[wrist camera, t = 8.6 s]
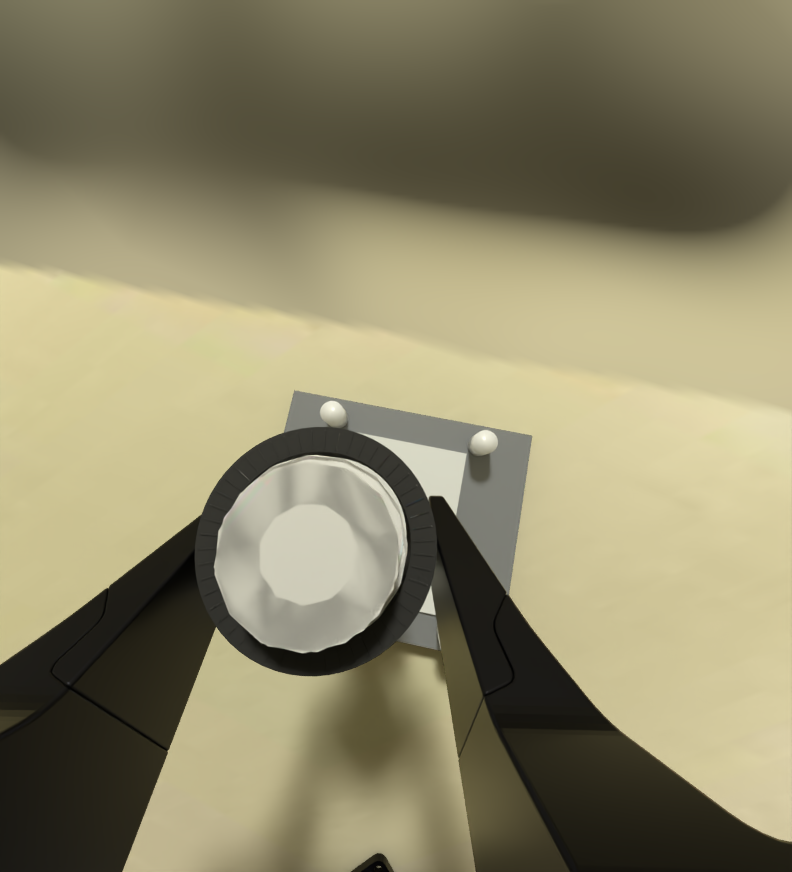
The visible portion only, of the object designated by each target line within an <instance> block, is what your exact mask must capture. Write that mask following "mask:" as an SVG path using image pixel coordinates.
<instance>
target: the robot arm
mask: <svg viewBox="0 0 792 872" xmlns="http://www.w3.org/2000/svg"><path fill="white" fill-rule="evenodd" d="M428 501H429V503H430V506H431V510H432V513H433V517H434V521H435V526H436V535H437V557H436V566H435V571H434V576H433V580H432V583H431V589H432V595H433V601H434V608H435V614H436V620H437V627H438V633H439V639H440V646H441V652H442V658H443V665H444V671H445V677H446V684H447V690H448V697H449V703H450V709H451V716H452V722H453V728H454V735H455V741H456V747H457V754H458V758H459V767H460V773H461V780H462V786H463V792H464V799H465V805H466V811H467V818H468V824H469V830H470V837H471V843H472V849H473V856H474V862H475V868H476V872H792V842H789V841H784V840H779V839H776V838H774V837H771V836H769V835H766V834H764V833H762V832H760V831H758V830H756V829H755V828H753V827H751V826H749V825H747V824H745V823H744V822H742V821H741V820H740V819H738V818H737V817H735V816H734V815H732V814H731V813H729V812H728V811H726V810H725V809H724V808H722V807H721V806H720V805H718V804H717V803H716V802H714V801H713V800H712V799H710V798H709V797H708V796H706V795H705V794H704V793H702V792H701V791H700V790H698V789H697V788H696V787H694V786H693V785H692V784H690V783H689V782H688V781H686V780H685V779H684V778H682V777H681V776H680V775H678V774H677V773H676V772H674V771H673V770H672V769H670V768H669V767H668V766H666V765H665V764H664V763H662V762H661V761H660V760H658V759H657V758H656V757H654V756H653V755H652V754H650V753H649V752H648V751H646V750H645V749H644V748H642V747H641V746H639V745H638V744H637V743H635V742H634V741H633V740H631V739H630V738H629V737H627V736H626V735H625V734H624V733H622V732H621V731H620V730H619V729H618V728H617V727H615V726H614V725H613V724H612V723H611V722H610V721H609V720H608V719H607V718H606V717H605V716H604V715H603V714H602V713H601V712H600V711H599V710H598V709H597V708H596V707H595V705H594V704H593V703H592V702H591V701H590V700H589V698H588V697H587V696H586V695H585V693H584V692H583V691H582V690H581V689H580V687H579V686H578V685H577V684H576V682H575V681H574V680H573V679H572V678H571V676H570V675H569V674H568V673H567V671H566V670H565V669H564V668H563V667H562V665H561V664H560V663H559V662H558V660H557V659H556V658H555V657H554V656H553V654H552V653H551V652H550V651H549V649H548V648H547V647H546V646H545V644H544V643H543V642H542V641H541V639H540V638H539V637H538V636H537V634H536V633H535V632H534V630H533V629H532V628H531V627H530V625H529V624H528V622H527V621H526V619H525V618H524V617H523V615H522V614H521V612H520V611H519V609H518V608H517V607H516V605H515V604H514V602H513V601H512V599H511V597H510V596H509V595H508V594H507V592H506V590H505V589H504V587H503V586H502V584H501V583H500V581H499V580H498V578H497V577H496V575H495V574H494V572H493V571H492V569H491V568H490V566H489V565H488V563H487V562H486V560H485V559H484V557H483V556H482V554H481V553H480V551H479V550H478V548H477V546H476V545H475V543H474V542H473V540H472V539H471V537H470V536H469V534H468V533H467V531H466V530H465V528H464V527H463V525H462V524H461V522H460V521H459V519H458V518H457V516H456V515H455V513H454V512H453V510H452V509H451V507H450V506H449V504H448V503H447V501H446V500H445V498H444V497H443V496H429V498H428ZM201 515H202V514H201ZM201 515H200V516H199V517H198V518H196V519H195V520H194V521H192V522H191V523H190V524H189V525H187V526H186V527H185V528H183V529H182V530H181V531H180V532H178V533H177V534H176V535H174V536H173V537H172V538H171V539H169V540H168V541H167V542H165V543H164V544H163V545H162V546H160V547H159V548H158V549H156V550H155V551H154V552H153V553H151V554H150V555H149V556H147V557H146V558H145V559H144V560H142V561H141V562H140V563H138V564H137V565H136V566H134V567H133V568H132V569H131V570H129V571H128V572H127V573H125V574H124V575H123V576H122V577H120V578H119V579H118V580H116V581H115V582H114V583H113V584H111V585H110V586H109V588H106V589H105V590H103V591H102V592H101V593H100V594H98V595H97V596H96V597H94V598H93V599H92V600H91V601H89V602H88V603H87V604H85V605H84V606H83V607H81V608H80V609H79V610H77V611H76V612H75V613H73V614H72V615H71V616H69V617H68V618H67V619H65V620H64V621H62V622H61V623H59V624H58V625H57V626H55V627H54V628H52V629H51V630H50V631H48V632H47V633H45V634H44V635H43V636H41V637H40V638H38V639H37V640H35V641H34V642H32V643H31V644H30V645H28V646H27V647H25V648H24V649H22V650H21V651H19V652H18V653H17V654H15V655H14V656H12V657H11V658H9V659H8V660H6V661H5V662H3V663H2V664H1V665H0V872H122V871H123V868H124V866H125V863H126V861H127V858H128V855H129V853H130V850H131V848H132V845H133V842H134V840H135V837H136V835H137V832H138V829H139V827H140V824H141V822H142V819H143V816H144V814H145V811H146V809H147V806H148V803H149V801H150V798H151V796H152V793H153V790H154V788H155V785H156V782H157V780H158V777H159V775H160V772H161V769H162V767H163V764H164V762H165V759H166V756H167V754H168V750H169V748H170V745H171V743H172V740H173V738H174V735H175V732H176V730H177V727H178V725H179V722H180V719H181V717H182V714H183V712H184V709H185V706H186V704H187V701H188V698H189V696H190V693H191V691H192V688H193V685H194V683H195V680H196V678H197V675H198V672H199V670H200V667H201V665H202V662H203V659H204V657H205V654H206V652H207V649H208V646H209V644H210V641H211V639H212V636H213V633H214V631H215V628H216V626H215V624H214V623H213V621H212V619H211V617H210V616H209V614H208V612H207V610H206V608H205V605H204V603H203V600H202V598H201V595H200V591H199V587H198V584H197V578H196V572H195V542H196V536H197V530H198V526H199V522H200V518H201ZM506 594H507V595H506ZM376 866H381V868H377V867H376ZM351 872H394V871H393V870H392V868H391V866H390V864H389V862H388V860H387V859H386V857H385V856H384V855H383V854H380V853H377V854H375V855H373V856H372V857H371V858H369V859H368V860H366V861H365V862H364V863H362V864H361V865H360V866H358V867H357V868H355V869H354V870H353V871H351Z"/></svg>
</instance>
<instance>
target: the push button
mask: <svg viewBox="0 0 792 872" xmlns="http://www.w3.org/2000/svg"><path fill="white" fill-rule="evenodd" d="M346 459H348V460H346ZM349 460H351V461H354V462H358V463H360V464H362V465H364V466H366V467H368V468H369V469H371V470H373V471H374V472H375V473H377V474H378V475H379V476H380V477H381V478H382V479H383V480H384V481H385V482H386V483H387V484H388V485H389V486H390V488H391V489H392V490H393V492H394V493H395V495H396V497H397V498H398V501H399V503H400V505H401V508H402V511H403V514H404V518H405V523H406V533H405V528H404V523H403V518H402V514H401V511H400V509H399V506H398V505H397V503H396V502H395V500H394V499H393V497H392V496H391V495H390V493H389V492H388V490H387V489H386V487H385V486H384V484H383V483H382V482H381V481H380V480H379V479H378V478H377V477H376V476H375V475H373V474H371V473H370V472H368V471H366V470H365V469H363V468H361V467H360V466H358V465H356V464H355V463H353V462H351V461H349ZM436 557H437V535H436V526H435V521H434V517H433V513H432V510H431V506H430V503H429V501H428V498H427V496H426V494H425V492H424V490H423V488H422V486H421V484H420V483H419V481H418V479H417V478H416V476H415V475H414V474H413V472H412V471H411V470H410V468H409V467H408V466H407V465H406V464H405V463H404V462H403V461H402V460H401V459H400V458H399V457H398V456H397V455H396V454H395V453H394V452H392V451H391V450H390V449H388V448H387V447H385V446H384V445H382V444H381V443H379V442H377V441H375V440H374V439H372V438H369V437H367V436H365V435H363V434H360V433H357V432H353V431H350V430H345V429H341V428H333V427H309V428H301V429H296V430H292V431H288V432H285V433H282V434H279V435H276V436H274V437H272V438H269V439H267V440H265V441H263V442H262V443H260V444H258V445H256V446H255V447H253V448H252V449H251V450H249V451H248V452H246V453H245V454H244V455H243V456H241V457H240V458H239V459H238V460H237V461H236V462H235V463H234V464H233V465H232V466H231V467H230V468H229V469H228V470H227V471H226V472H225V474H224V475H223V476H222V478H221V479H220V480H219V481H218V483H217V485H216V486H215V488H214V489H213V491H212V493H211V495H210V497H209V499H208V501H207V503H206V505H205V507H204V510H203V513H202V515H201V518H200V522H199V526H198V530H197V536H196V542H195V572H196V578H197V584H198V587H199V591H200V595H201V598H202V600H203V603H204V605H205V608H206V610H207V612H208V614H209V616H210V617H211V619H212V621H213V623H214V624H215V626H216V627H217V628H218V630H219V631H220V633H221V634H222V635H223V636H224V637H225V638H226V639H227V641H228V642H229V643H230V644H231V645H233V646H234V647H235V648H236V649H237V650H238V651H239V652H241V653H242V654H244V655H245V656H246V657H248V658H249V659H251V660H253V661H254V662H256V663H258V664H260V665H262V666H264V667H267V668H269V669H272V670H275V671H278V672H282V673H286V674H291V675H298V676H323V675H331V674H335V673H340V672H344V671H347V670H350V669H353V668H356V667H358V666H360V665H362V664H364V663H367V662H368V661H370V660H372V659H373V658H375V657H377V656H378V655H380V654H381V653H383V652H384V651H385V650H387V649H388V648H389V647H391V646H392V645H393V644H394V643H395V642H396V641H397V640H398V639H399V638H400V637H401V636H402V635H403V634H404V632H405V631H406V630H407V629H408V628H409V627H410V625H411V624H412V622H413V621H414V619H415V618H416V617H417V615H418V613H419V611H420V610H421V608H422V606H423V604H424V602H425V600H426V597H427V595H428V593H429V590H430V587H431V583H432V580H433V576H434V571H435V566H436Z"/></svg>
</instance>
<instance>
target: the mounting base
mask: <svg viewBox="0 0 792 872" xmlns="http://www.w3.org/2000/svg"><path fill="white" fill-rule="evenodd" d="M309 427H333V428H341V429H345V430H350V431H353V432H357V433H360V434H363V435H365V436H367V437H369V438H372V439H374V440H375V441H377V442H379V443H381V444H382V445H384V446H385V447H387V448H388V449H390V450H391V451H392V452H394V453H395V454H396V455H397V456H398V457H399V458H400V459H401V460H402V461H403V462H404V463H405V464H406V465H407V466H408V467H409V468H410V470H411V471H412V472H413V474H414V475H415V476H416V478H417V479H418V481H419V483H420V484H421V486H422V488H423V490H424V492H425V494H426V496H427V498H429V496H443V497H444V498H445V500H446V501H447V503H448V504H449V506H450V507H451V509H452V510H453V512H454V513H455V515H456V516H457V518H458V519H459V521H460V522H461V524H462V525H463V527H464V528H465V530H466V531H467V533H468V534H469V536H470V537H471V539H472V540H473V542H474V543H475V545H476V546H477V548H478V550H479V551H480V553H481V554H482V556H483V557H484V559H485V560H486V562H487V563H488V565H489V566H490V568H491V569H492V571H493V572H494V574H495V575H496V577H497V578H498V580H499V581H500V583H501V584H502V586H503V587H504V589H505V590H506V592H507V594H508V595H509V590H510V583H511V577H512V570H513V563H514V556H515V549H516V542H517V536H518V529H519V522H520V515H521V508H522V502H523V495H524V488H525V481H526V474H527V467H528V461H529V454H530V447H531V440H532V436H531V435H526V434H520V433H515V432H510V431H505V430H499V429H494V428H489V427H484V426H478V425H473V424H468V423H463V422H457V421H452V420H447V419H442V418H436V417H431V416H426V415H421V414H415V413H410V412H405V411H400V410H394V409H389V408H384V407H379V406H373V405H368V404H363V403H358V402H352V401H347V400H342V399H337V398H331V397H326V396H321V395H316V394H310V393H305V392H300V391H295V390H294V394H293V398H292V402H291V406H290V410H289V414H288V418H287V422H286V426H285V430H284V433H285V432H288V431H292V430H296V429H301V428H309ZM346 460H348V459H346ZM349 461H351V460H349ZM351 462H353V463H355V464H356V465H358V466H360V467H361V468H363V469H365V470H366V471H368V472H370V473H371V474H373V475H375V476H376V477H377V478H378V479H379V480H380V481H381V482H382V483H383V484H384V486H385V487H386V489H387V490H388V492H389V493H390V495H391V496H392V497H393V499H394V500H395V502H396V503H397V505H398V506H399V509H400V511H401V514H402V518H403V523H404V528H405V533H406V523H405V518H404V514H403V511H402V508H401V505H400V503H399V501H398V498H397V497H396V495H395V493H394V492H393V490H392V489H391V488H390V486H389V485H388V484H387V483H386V482H385V481H384V480H383V479H382V478H381V477H380V476H379V475H378V474H377V473H375V472H374V471H373V470H371V469H369V468H368V467H366V466H364V465H362V464H360V463H358V462H354V461H351ZM507 594H506V595H507ZM397 641H399V642H403V643H408V644H412V645H417V646H421V647H426V648H430V649H435V650H439V651H441V646H440V639H439V633H438V627H437V620H436V614H435V608H434V601H433V595H432V589H431V587H430V590H429V593H428V595H427V597H426V600H425V602H424V604H423V606H422V608H421V610H420V611H419V613H418V615H417V617H416V618H415V619H414V621H413V622H412V624H411V625H410V627H409V628H408V629H407V630H406V631H405V632H404V634H403V635H402V636H401V637H400V638H399V639H398V640H397Z"/></svg>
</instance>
